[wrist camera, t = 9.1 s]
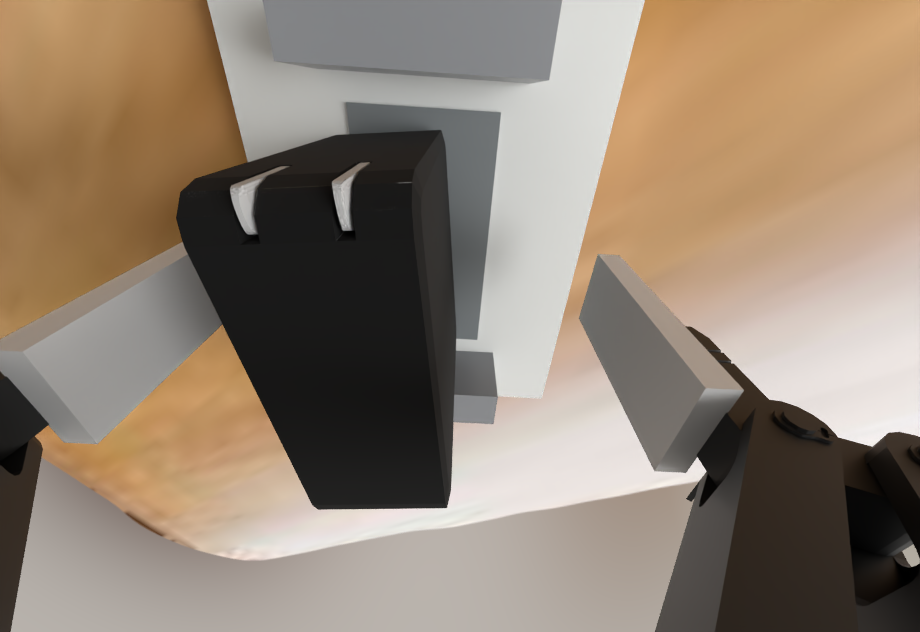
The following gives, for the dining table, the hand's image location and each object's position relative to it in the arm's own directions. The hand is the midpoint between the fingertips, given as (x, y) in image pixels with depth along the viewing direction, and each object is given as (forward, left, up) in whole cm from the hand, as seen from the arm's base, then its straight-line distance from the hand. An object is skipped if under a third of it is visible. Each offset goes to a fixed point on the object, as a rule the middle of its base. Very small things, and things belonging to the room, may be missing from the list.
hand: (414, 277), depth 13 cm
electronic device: (+1, -1, -4) cm, 4 cm away
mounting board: (0, 0, -6) cm, 6 cm away
